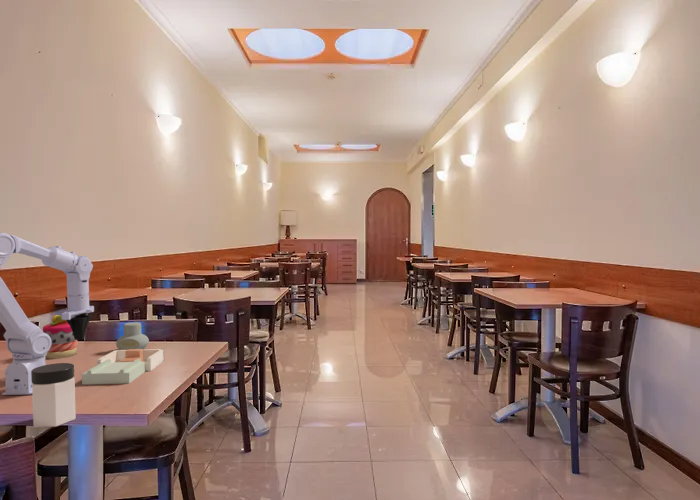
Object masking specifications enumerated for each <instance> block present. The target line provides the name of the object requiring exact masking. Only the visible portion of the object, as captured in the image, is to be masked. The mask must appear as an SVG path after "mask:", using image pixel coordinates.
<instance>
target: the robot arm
mask: <svg viewBox="0 0 700 500" xmlns="http://www.w3.org/2000/svg"><path fill="white" fill-rule="evenodd" d="M12 254H20V255H25V256H28V257H31V258H34V259H35V258H36V259H39V260H41V262H42V264H43V265H44V266H46V267H49V268H53V269H56V270H59V271H62V272H63V273H64V274H65V275H66V295H67V296H66V298H67V299H66V300H67V301H66V302H67V310H66V311H64V312H63V313H61V316H62V320H66V321H67V322H68V324H69V325H70V327H71V329H72V332H73V335H74V338H75V340H77V341H81V340H84V339H85V337H86V333H87V328H88V326H89V322H90V320H91V319H92V314H89V313H94V312H95V306H94V305H90V285H89V283H90V282H89V281H90V278H91V272H92V271H93V268H94V267H93V266H94V264H93V263H92V261H91V259H89V257H87V256H85V255H77V253H76V252H75V251H68V250H65V249H63V247H62V246H60V245H55V246H49V247H48V248H46V247H43V246H41V245H39V244H36V243H33V242H31V241H29V240H26V239H24V238H21V237H19V236H17V235H12V234H8V233H7V232H0V269H1V268H2V267H3V266H4V265H5V263H6V262H7V261H8V259H10V257H11V256H12ZM0 323H1V325H2V326H3V328H4V329H5V332H4V333H3V337H4V340H5V341H6V348H7V350H8V351H9V352H10V353H11V356H12V358H13V359H12V362H11V363H10V364H8V366H7V367H6V368H5V371H4V376H5V377H4V378H5V380H4V381H5V385H4V387H5V391H4V392H2V396H14V395H15V396H16V395H19V396H20V395H32V382H31V371H32V370H33V369H34V368H37V367H40V366H44V365H47V364H46V358H45V356H46V355H47V352H48V351H49V349H50V347H51V338H50V336H49V335H48V334H46V333H44V332H43V329H41V327H39V326H38V325H36V324H35V323H33V322H32V321H30V320H29V318H28V316H27V315H26V314H25V312H24V311H23V309H22V307H21V306H20V304H19V302H17V300H16V298H15V297H14V295H13V294H12V291H10V289H9V288H8V286H7V284H6V283H5V282H4V280H3V278H2V277H1V276H0Z"/></svg>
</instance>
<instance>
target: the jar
mask: <svg viewBox="0 0 700 500" xmlns="http://www.w3.org/2000/svg"><path fill="white" fill-rule="evenodd" d="M75 381H76V380H75V365H74V364H73V363H72V362H71V363H70V362H61V363H60V362H59V363H56V362H55V363H51V364H46V365H44V366H40V367H37V368H34V369H33V370H32V371H31V382H32V394H31V396H32V424H33V428H35V429H37V428H55V427H59V426H61V425H64V424H66V423H69V422H71V421H75V419H76V385H75V383H76V382H75Z"/></svg>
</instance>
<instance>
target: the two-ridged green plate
mask: <svg viewBox="0 0 700 500" xmlns="http://www.w3.org/2000/svg"><path fill="white" fill-rule="evenodd" d="M145 372H147V371H146V362H141V359H136V360H135V361H133V362H111V360H106V361H104V362H102V363H100V364H98V365H95V366H93V367H91V368H89V369H88V370H87V371H85V372H82V373H81V385H84V386H85V385H108V384H109V385H111V384H113V385H114V384H115V385H116V384H120V385H121V384H131V383H132V382H133V381H135V380H136V379H137V378H139V377H140V376H141V375H143V374H145Z"/></svg>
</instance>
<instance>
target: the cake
mask: <svg viewBox="0 0 700 500" xmlns="http://www.w3.org/2000/svg"><path fill="white" fill-rule="evenodd" d="M51 321H52V322H50V323H47V324H45V325H43V327H42V331H43V332H44V333H46V334H48V335H49V336H50V338H51V347H50V349H49V351H48V352H47V355H46V356H45V360H57V359H58V360H59V359H66V358H70V357H73V356H75V355H77V354H78V353H77V352H78V351H77V350H78V342H79V340H75V338H74V335H73V332H72V329H71V327H70V325H69V324H68V322H67V321H66V320H62V315H58V314H56V315H53V316H52V317H51Z"/></svg>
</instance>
